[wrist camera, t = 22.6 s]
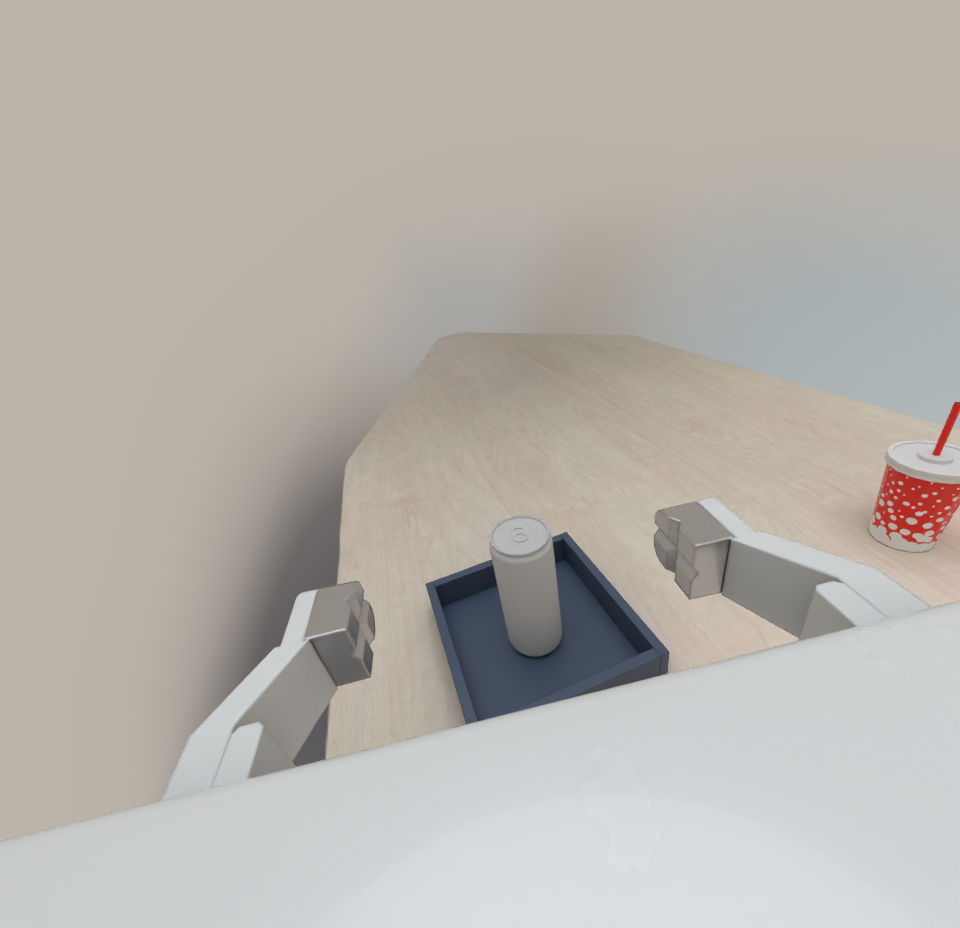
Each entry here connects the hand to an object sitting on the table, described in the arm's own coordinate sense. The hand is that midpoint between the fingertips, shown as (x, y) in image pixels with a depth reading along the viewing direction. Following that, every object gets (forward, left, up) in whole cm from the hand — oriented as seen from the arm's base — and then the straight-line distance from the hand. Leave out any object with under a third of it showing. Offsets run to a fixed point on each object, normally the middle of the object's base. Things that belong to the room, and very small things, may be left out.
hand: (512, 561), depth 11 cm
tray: (+5, +15, -25) cm, 30 cm away
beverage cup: (+42, +10, -25) cm, 50 cm away
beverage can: (+5, +15, -25) cm, 29 cm away
